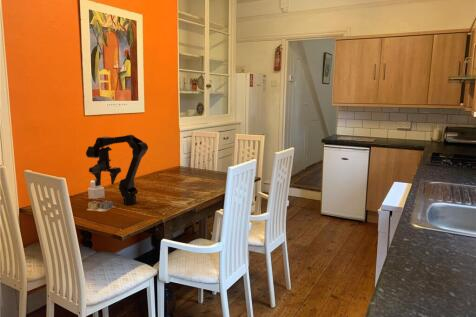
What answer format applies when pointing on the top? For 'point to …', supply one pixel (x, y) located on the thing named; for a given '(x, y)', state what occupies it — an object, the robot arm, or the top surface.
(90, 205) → the brass gear
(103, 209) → the birch gear board
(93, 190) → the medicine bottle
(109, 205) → the grey gear
